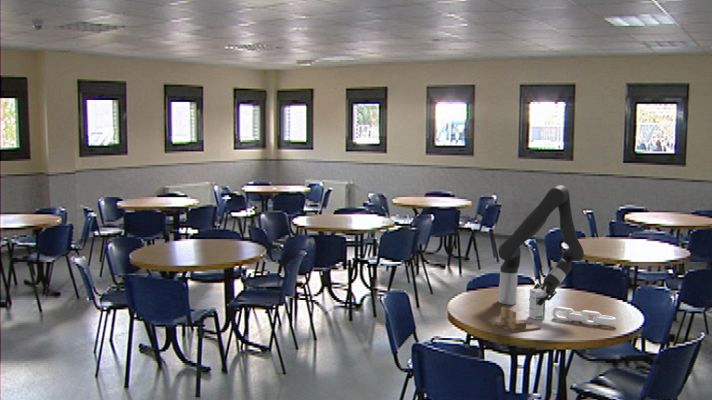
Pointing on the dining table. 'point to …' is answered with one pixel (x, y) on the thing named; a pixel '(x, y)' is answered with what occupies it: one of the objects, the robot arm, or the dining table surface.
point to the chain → (583, 316)
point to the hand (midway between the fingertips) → (534, 302)
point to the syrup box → (536, 304)
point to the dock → (514, 322)
